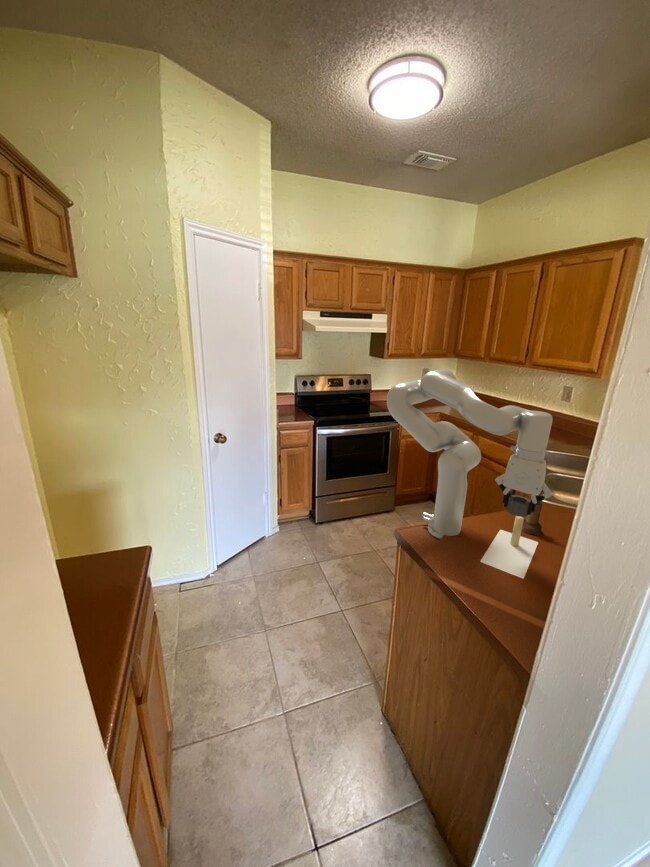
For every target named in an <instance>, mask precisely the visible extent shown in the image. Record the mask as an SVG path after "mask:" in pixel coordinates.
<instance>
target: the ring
mask: <svg viewBox="0 0 650 867" xmlns="http://www.w3.org/2000/svg"><path fill="white" fill-rule="evenodd" d="M530 500H531V499H529V498H527V497H525V496H522V495H519V494H518V495H517V494H511V496H510V497H509V498H508V503H507V507H505V510H506V511H507V513H509V514H510V515H512V516H515V517H516V516H520V517H523V518H525V517H527V516H528V514H527V513H528V509H529V504H530V502H531V501H530Z"/></svg>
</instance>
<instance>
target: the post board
mask: <svg viewBox="0 0 650 867" xmlns="http://www.w3.org/2000/svg"><path fill="white" fill-rule="evenodd" d="M524 520H525V517H520V516H515V518H514V522H513V527H512V532H509V531H506V530H503V529H499V531H498V532H497V534H496V535H495V537H494V539H493V540H492V541H491V543H490V545H489V547H488V549H487V550H486V551H485V552H484V555H483V556H482V557H481V559H480V563H483V564H484V565H487V566H490V567H493V568H494V569H497V570H499V571H502V572H505V573H507V574H510V575H512V576H516V577H517V578H520V579H525V577H526V575H527V571H528V569H529V566H530V565H531V562H532V559H533V557H534V555H535V552H536V549H537V546H538V545H539V542H538V541H536V540H533V539H530V538H527V537H524V536H521V535H522V531H523V530H522V526H523V521H524Z"/></svg>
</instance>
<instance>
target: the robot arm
mask: <svg viewBox="0 0 650 867" xmlns="http://www.w3.org/2000/svg"><path fill="white" fill-rule="evenodd" d="M388 390H389V391H388V393H387V396H386V406H387V407H386V408H387V409H388V412H389V414H390V415H391V417H392V418H393V419H394V420H395V421H396V422H397V423H398V424H399V425H400V426H402V427H403V429H405V430H406V432H408V434H409V435H411V437H412V438H414V439H415V441H416V442H417V443H418V444H419V445H421V447H422V448H423V449H424V450H426V451H427V452H430V453H436V452H440V451H442V450H443V452H442V453H441V454H440V456H439V457H438V460H437V472H438V473H437V474H438V475H437V476H438V477H437V478H438V479H437V488H436V496H435V503H434V504H435V505H434V510H433V511H434V512H433V513H432V514H430V513H429V512H425V511H424V512H423V514H422V518H423V519H422V520H423V521H424V522H428V525H427V531H428V532H429V534H430V535H431V536H433V537H434V538H436V539H438V540H441V539H442V538H443V537H444V536H447V537H448V536H450V537H453V536H457V535H459V534H460V533H461V532H462V525H463V524H462V523H463V520H464V518H463V517H464V510H465V504H466V497H467V492H468V491H467V490H468V479H467V478H468V472H469V471H471V470H472V469H474V468H475V467H476V466H478V465H479V464H480V462H481V459H482V453H481V450H480V448H479V447H478V445H477V444H476V443H475V442H474V441H473V440H471V438H469V436H468V435H466V434H465V433H464V432H463V431H462V430H461V429H460V428H458V427H457V426H456V425H455V424H453V423H452V422H450V421H444V420H441V421H437V422H435V421H433V420H432V419H431V418H430V417H429V416H427V415H426V414H425V412H423V411H421V410H420V409H418V408H417V407H415V406H414V405H416V404H420V403H423V402H427V401H428V400H432V399H434V400H437V401H438V402H440V403H442V404H444V405H446V406H448V407H450V408H452V409H454V410H455V411H457V412H458V413H459V414H460V415H461V416H462V417H463V418H464V419H465V420H466V421H467V422H469V423H470V424H472V425H474V426H476V427H478V428H480V429H481V430H483V431H485V432H487V433H490V434H492V435H495V436H505V435H508V434H510V433H511V432H515V431H516V432H517V431H518V436H517V440H516V445H510V447H509V450H510V451H512V452H513V454H511V455H510V457H509V458H508V459H509V460H508V461H507V465H506V468H505V473H503V474H501V475H499V476H497V477H496V478H495V479H494V480H495V482H496V484H497V485H498V486H499V488H500V490H501V491H502V495H503V498H502V503H503V507H504V508H506V507H507V503H508V498H509V497H510V496H511V495H512V492H511V491H512V490H513V491H516V492H520V493H523V494H527V495H529V496H530V498H531V500H532V501H531V502H530V504H529V509H528V513H527V514H528V515H531V513H532V512H535V508H536V504H537V502H542V501H545V500H546V499H549V498H551V497H552V496H553V492H552V491H551V489H550V488H549V487H548V485H547V484H546V482H545V481H546V474H547V473H546V472H547V461H546V460H545V457H546V456H545V455H546V452H547V447H548V442H549V439H550V435H551V434H550V433H551V428H552V425H553V415H551V413H548V412H545V411H540V410H531V409H526V408H523V407H520V406H517V405H505V406H502V407H500V408H498V407H496V406H494V405H492V404H489V403H487V402H485V401H484V400H482V399H480V398H479V397H478V396H477V395H476V393H475V389H474V387H473V386H471V385H469V384H467V383H465V382H462V381H460V380H457V378H456V376H455V374H454V373H453V372H452V371H450V370H447V369H436V370H431V371H428V372H426V373H425V374H424V375H423V376H422V377H421V378H419V379H416V380H412V381H405V382H400V383H397V384H395V385H393V386H392V387H391V388H390V389H388ZM542 490H543V492H544V493H543V494H542V493H541V491H542ZM540 493H541V494H540ZM539 494H540V496H538V495H539Z"/></svg>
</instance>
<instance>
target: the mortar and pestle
mask: <svg viewBox="0 0 650 867" xmlns="http://www.w3.org/2000/svg"><path fill="white" fill-rule="evenodd" d="M543 492H544V491H543V490H542V491H541V493H540V494H539V495H538V496H540V495H542V493H543ZM529 500H530V501H532V499H529ZM542 506H543V502H542V501H540V502H537V504H536V508H535V512H532V513H531V515H528V516H526V518H524V521H523V526H522V530H521V531H523V532H525V533H526V532H527V533H526V534H529V535H536V534H537V535H540V534H541V532H542V528H543V527H542V525H541V524H540V522H539V520H540V516H541V511H542V508H543V507H542ZM537 535H536V536H537Z"/></svg>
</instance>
